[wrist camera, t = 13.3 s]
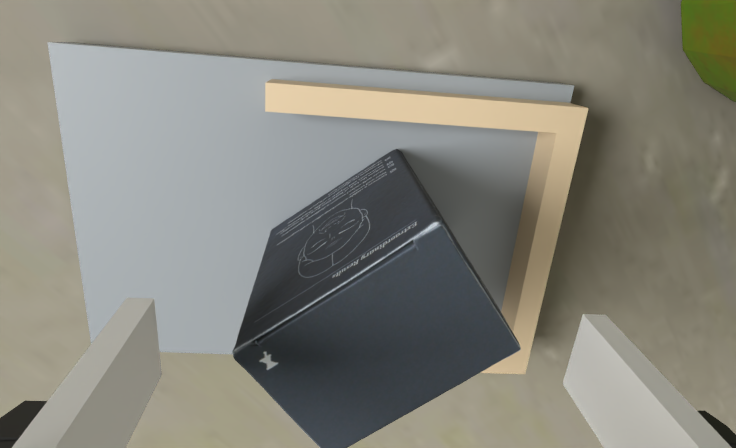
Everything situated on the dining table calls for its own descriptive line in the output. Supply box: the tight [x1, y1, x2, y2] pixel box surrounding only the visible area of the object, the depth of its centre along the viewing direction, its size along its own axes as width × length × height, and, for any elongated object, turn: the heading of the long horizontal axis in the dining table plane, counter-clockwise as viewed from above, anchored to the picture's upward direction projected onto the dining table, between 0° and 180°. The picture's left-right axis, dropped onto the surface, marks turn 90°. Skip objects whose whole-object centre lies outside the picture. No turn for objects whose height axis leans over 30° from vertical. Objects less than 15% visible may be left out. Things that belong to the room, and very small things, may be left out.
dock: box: [48, 42, 589, 374], centre depth 24 cm, size 24×16×4 cm, turn 85°
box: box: [232, 149, 521, 448], centre depth 20 cm, size 8×6×11 cm
